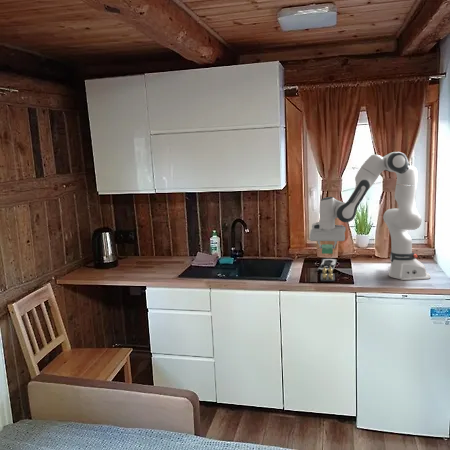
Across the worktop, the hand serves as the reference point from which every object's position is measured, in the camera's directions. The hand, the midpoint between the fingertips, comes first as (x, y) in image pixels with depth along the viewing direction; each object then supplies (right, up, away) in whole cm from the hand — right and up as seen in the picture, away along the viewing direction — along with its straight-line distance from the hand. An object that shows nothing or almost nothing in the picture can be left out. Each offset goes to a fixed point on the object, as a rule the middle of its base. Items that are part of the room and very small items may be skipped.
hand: (327, 248), depth 270 cm
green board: (0, -2, 0) cm, 2 cm away
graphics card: (+5, -14, +27) cm, 31 cm away
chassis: (+1, -18, +3) cm, 18 cm away
